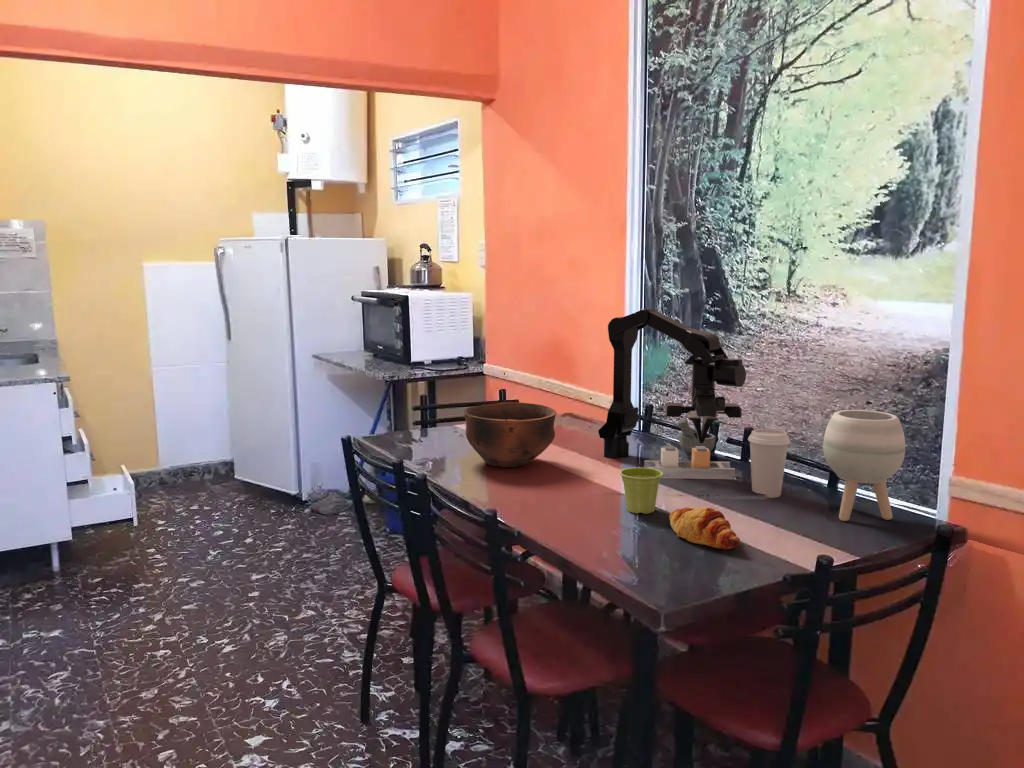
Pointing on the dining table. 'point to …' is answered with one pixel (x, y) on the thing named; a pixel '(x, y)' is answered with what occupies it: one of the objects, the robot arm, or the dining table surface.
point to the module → (700, 457)
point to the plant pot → (641, 488)
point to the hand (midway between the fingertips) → (701, 443)
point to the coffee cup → (768, 461)
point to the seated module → (669, 456)
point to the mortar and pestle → (692, 439)
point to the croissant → (704, 527)
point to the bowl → (509, 431)
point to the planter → (864, 453)
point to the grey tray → (694, 470)
